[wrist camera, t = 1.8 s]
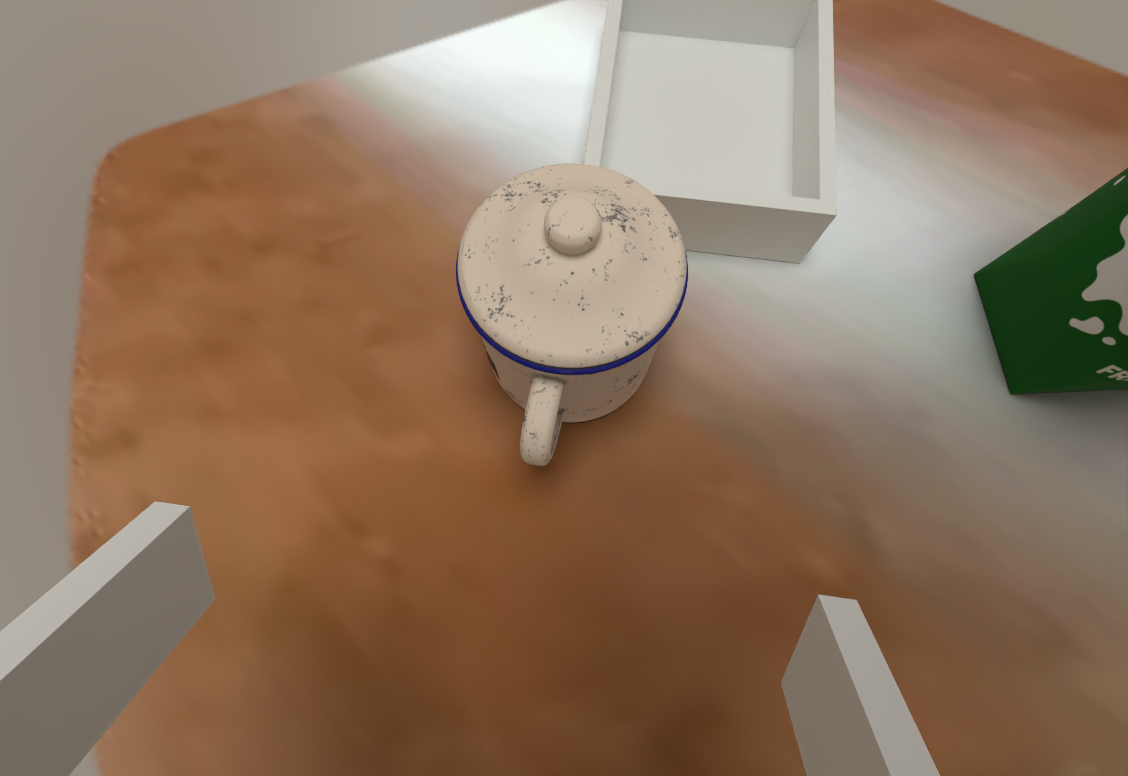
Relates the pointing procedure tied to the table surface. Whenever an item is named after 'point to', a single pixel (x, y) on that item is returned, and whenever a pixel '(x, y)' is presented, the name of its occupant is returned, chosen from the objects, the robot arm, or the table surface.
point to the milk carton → (1065, 299)
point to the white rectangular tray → (723, 118)
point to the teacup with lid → (570, 292)
